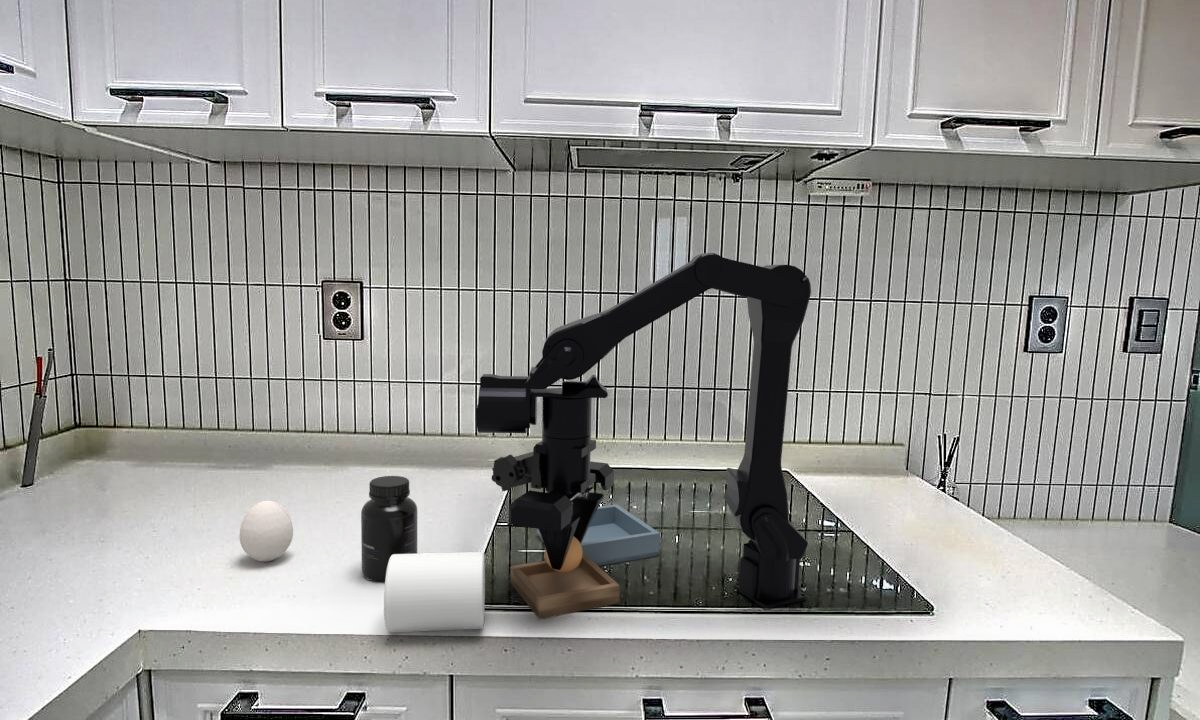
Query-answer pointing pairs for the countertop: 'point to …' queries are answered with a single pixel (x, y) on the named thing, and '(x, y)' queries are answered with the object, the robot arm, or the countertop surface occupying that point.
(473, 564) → the mug
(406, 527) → the supplement bottle
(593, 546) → the dish
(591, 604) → the tray
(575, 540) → the ball
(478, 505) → the countertop surface
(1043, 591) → the countertop surface
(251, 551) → the egg
